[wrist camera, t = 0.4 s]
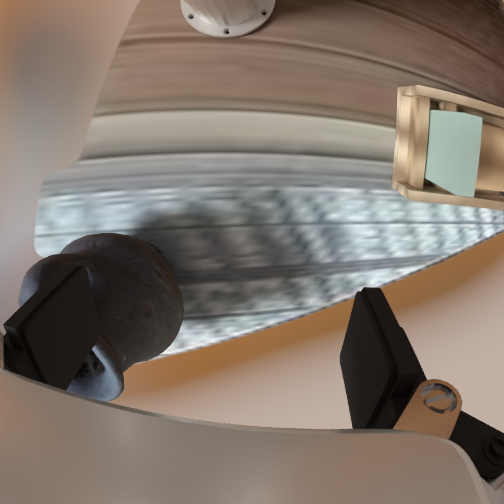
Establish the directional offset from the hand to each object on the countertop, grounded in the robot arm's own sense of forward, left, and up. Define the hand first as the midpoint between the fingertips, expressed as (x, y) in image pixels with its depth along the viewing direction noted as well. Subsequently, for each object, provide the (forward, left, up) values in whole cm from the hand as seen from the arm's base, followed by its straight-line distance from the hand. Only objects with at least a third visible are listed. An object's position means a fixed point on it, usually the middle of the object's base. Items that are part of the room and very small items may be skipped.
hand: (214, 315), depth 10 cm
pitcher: (+17, -20, -35) cm, 44 cm away
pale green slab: (-4, +23, -34) cm, 41 cm away
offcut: (-4, +32, -30) cm, 44 cm away
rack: (-4, +29, -35) cm, 46 cm away
